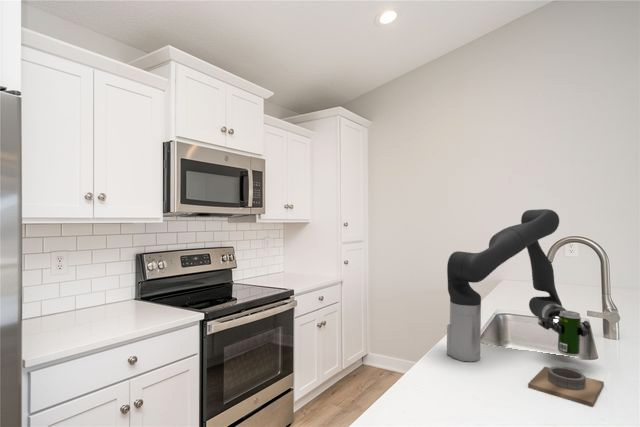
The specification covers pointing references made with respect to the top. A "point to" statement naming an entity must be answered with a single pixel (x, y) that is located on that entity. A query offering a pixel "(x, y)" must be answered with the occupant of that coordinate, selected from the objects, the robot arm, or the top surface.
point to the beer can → (569, 333)
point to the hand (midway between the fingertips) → (571, 331)
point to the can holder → (567, 384)
